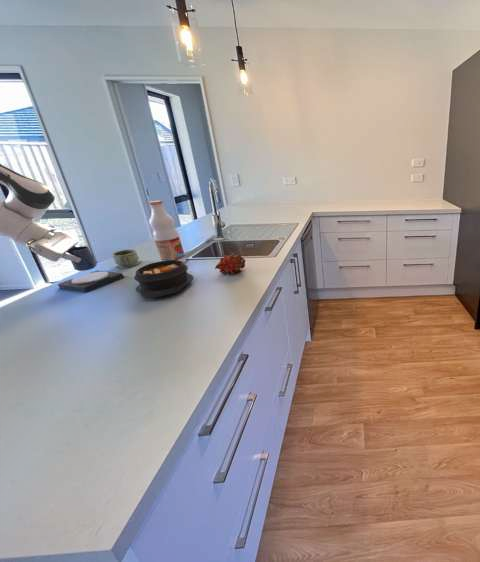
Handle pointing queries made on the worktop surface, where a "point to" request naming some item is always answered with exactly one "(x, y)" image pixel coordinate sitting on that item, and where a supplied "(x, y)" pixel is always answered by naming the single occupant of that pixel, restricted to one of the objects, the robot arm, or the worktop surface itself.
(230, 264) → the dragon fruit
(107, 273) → the scale
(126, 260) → the vessel
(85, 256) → the dark blue cup
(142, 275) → the casserole
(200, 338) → the worktop surface
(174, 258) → the fruit juice
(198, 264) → the worktop surface
